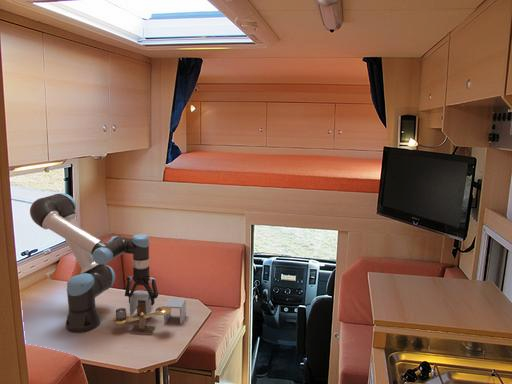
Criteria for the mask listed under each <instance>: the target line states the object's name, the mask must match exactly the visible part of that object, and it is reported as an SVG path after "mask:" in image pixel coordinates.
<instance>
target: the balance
mask: <svg viewBox="0 0 512 384" xmlns="http://www.w3.org/2000/svg"><path fill="white" fill-rule="evenodd" d="M171 312H172V308H170V307H167V306H164V305H163V306H159V307H157V308H156V309H155V312H152V313H151V312H150V314H146V315H144V313H143V312H141V313H140V316H137V315H136V316H134V317H133V316H132V317H129V316H128V315H127V309H126V308H124V307H120V308H116V309H115V317H114V318H113V324H115V325H124V324H127V323H129V322H134V321H138V324H136V325H134V326H133V327H132V328H131V330H130V331H129V334H130V335H141V336H144V335H145V336H152V335H153V333H154V332H153V331H155V330H156V326H155V325H147V320H146V318H148V319H149V318H152V317H157V316H164V315H167V314H169V313H171ZM171 314H172V313H171Z"/></svg>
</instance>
